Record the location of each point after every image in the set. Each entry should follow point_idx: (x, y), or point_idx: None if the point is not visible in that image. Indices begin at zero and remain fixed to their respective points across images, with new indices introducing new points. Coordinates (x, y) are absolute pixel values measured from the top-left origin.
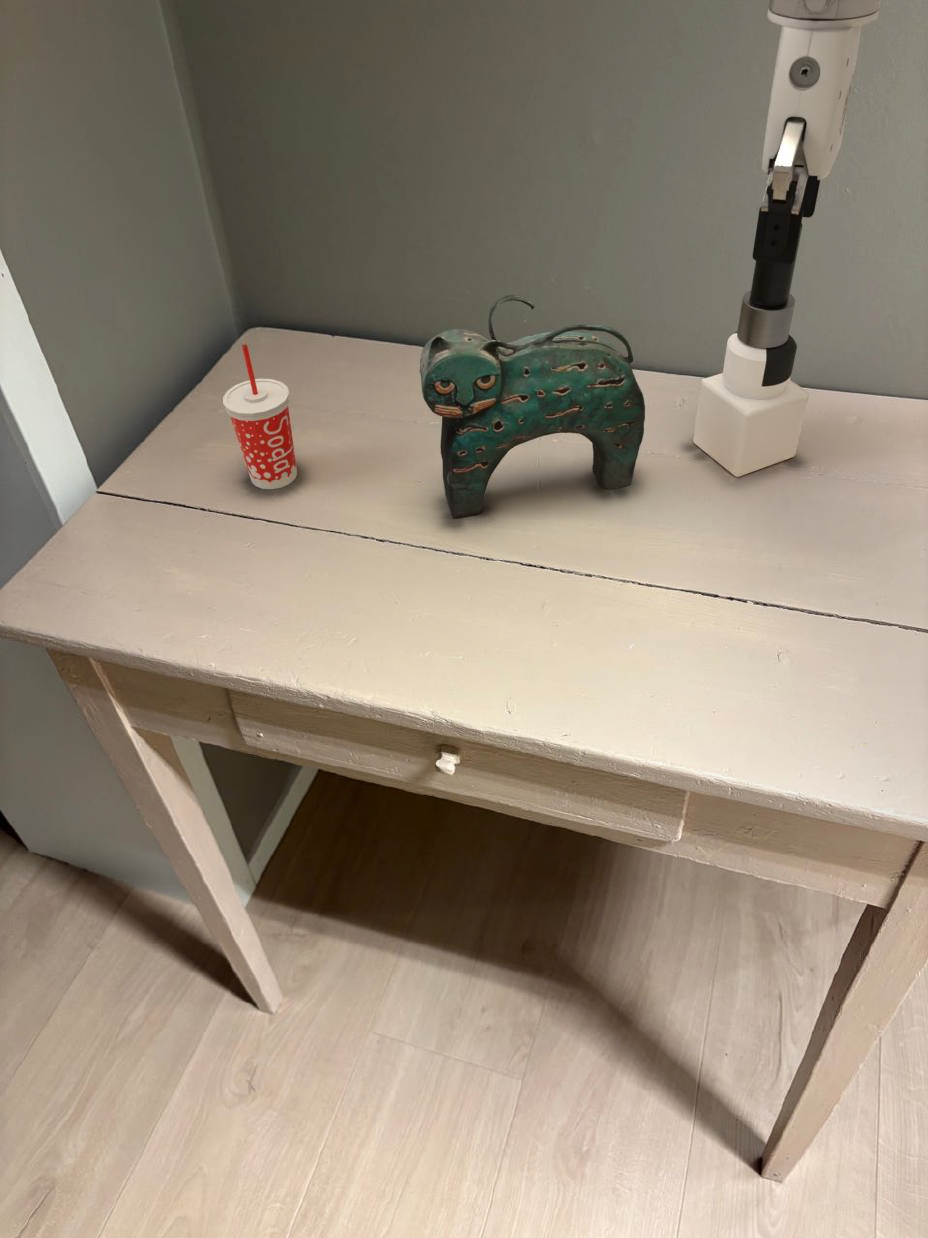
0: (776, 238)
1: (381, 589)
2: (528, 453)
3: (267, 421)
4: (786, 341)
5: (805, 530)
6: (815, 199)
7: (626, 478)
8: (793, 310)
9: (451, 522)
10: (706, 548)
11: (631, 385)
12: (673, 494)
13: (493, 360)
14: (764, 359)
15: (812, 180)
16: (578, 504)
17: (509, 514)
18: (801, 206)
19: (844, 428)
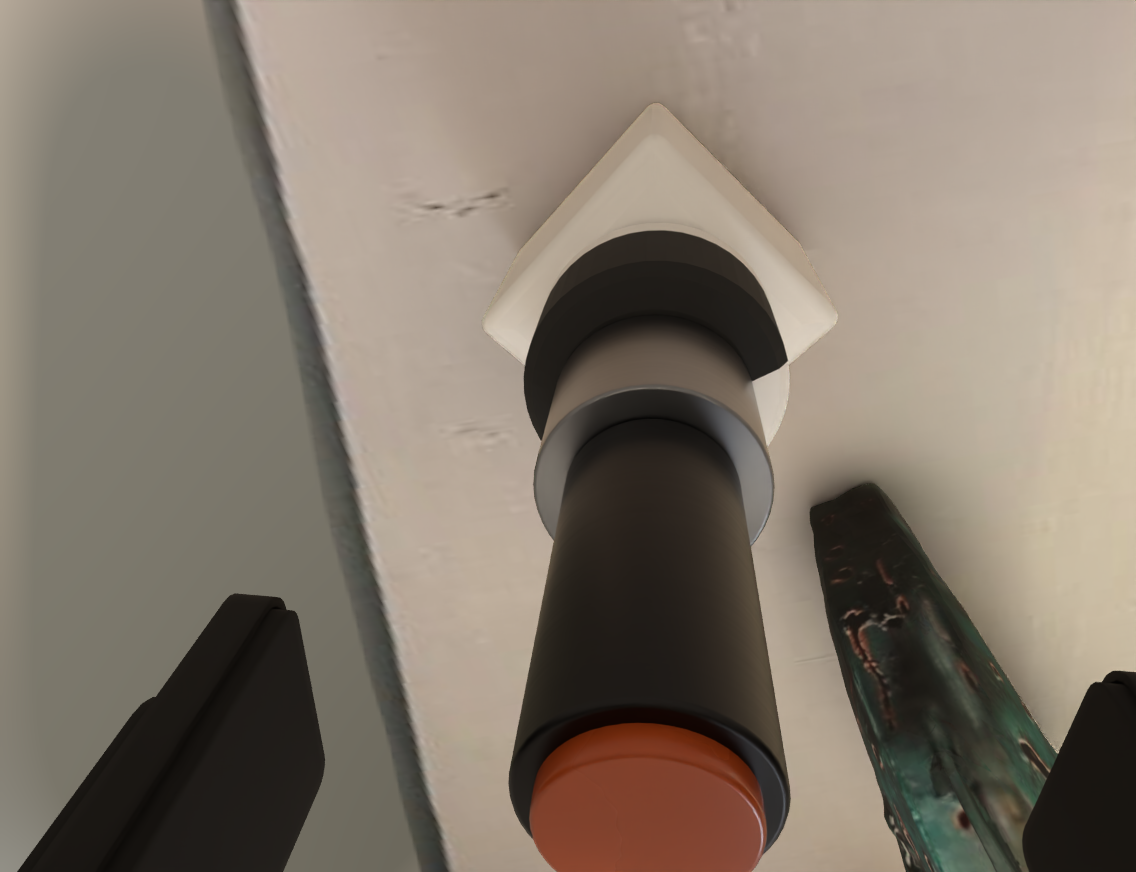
0: None
1: None
2: (784, 680)
3: None
4: (664, 314)
5: (1031, 14)
6: (224, 684)
7: (890, 502)
8: (651, 365)
9: (1053, 748)
10: (1130, 271)
11: (1000, 708)
12: (897, 384)
13: None
14: (785, 369)
15: (169, 860)
16: (965, 563)
17: (1016, 669)
18: (282, 710)
19: None
